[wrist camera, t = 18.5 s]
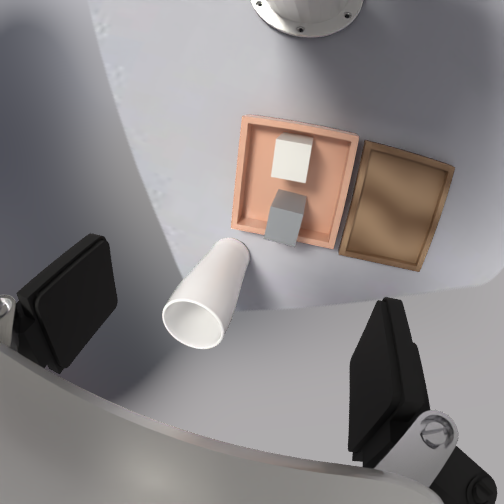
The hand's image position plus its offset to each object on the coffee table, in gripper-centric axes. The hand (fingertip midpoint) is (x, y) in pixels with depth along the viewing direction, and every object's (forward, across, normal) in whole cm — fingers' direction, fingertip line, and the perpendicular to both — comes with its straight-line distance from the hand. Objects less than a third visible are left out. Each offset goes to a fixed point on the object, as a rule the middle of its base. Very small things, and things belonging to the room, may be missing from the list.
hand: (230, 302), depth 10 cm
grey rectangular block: (+28, 0, +7) cm, 29 cm away
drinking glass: (+28, +6, +16) cm, 33 cm away
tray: (+28, -13, +4) cm, 31 cm away
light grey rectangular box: (+28, 0, 0) cm, 28 cm away
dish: (+28, 0, +4) cm, 29 cm away
